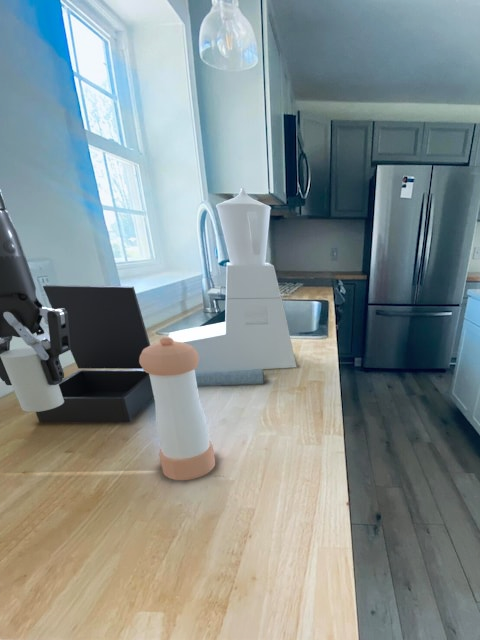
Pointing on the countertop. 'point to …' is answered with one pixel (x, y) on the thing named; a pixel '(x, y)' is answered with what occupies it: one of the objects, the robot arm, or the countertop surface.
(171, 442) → the salt shaker
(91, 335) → the lid
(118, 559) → the countertop surface
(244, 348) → the blender
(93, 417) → the black hinged box
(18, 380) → the container
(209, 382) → the grey folded cloth
